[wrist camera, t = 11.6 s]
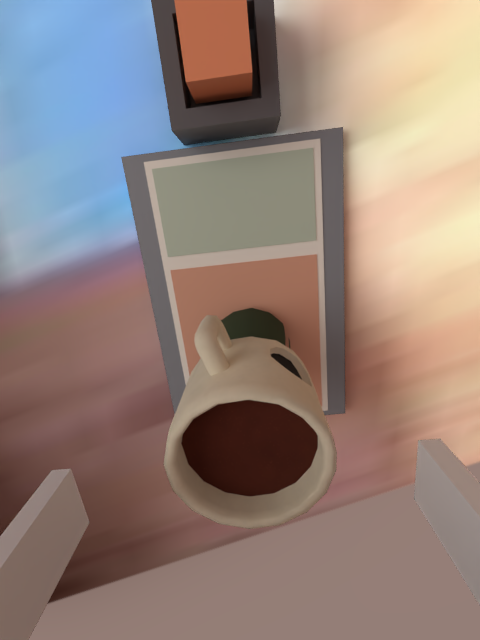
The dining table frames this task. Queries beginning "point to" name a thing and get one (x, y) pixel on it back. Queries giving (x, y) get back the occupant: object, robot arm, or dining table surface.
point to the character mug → (249, 427)
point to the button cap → (215, 48)
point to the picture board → (246, 246)
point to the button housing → (228, 114)
